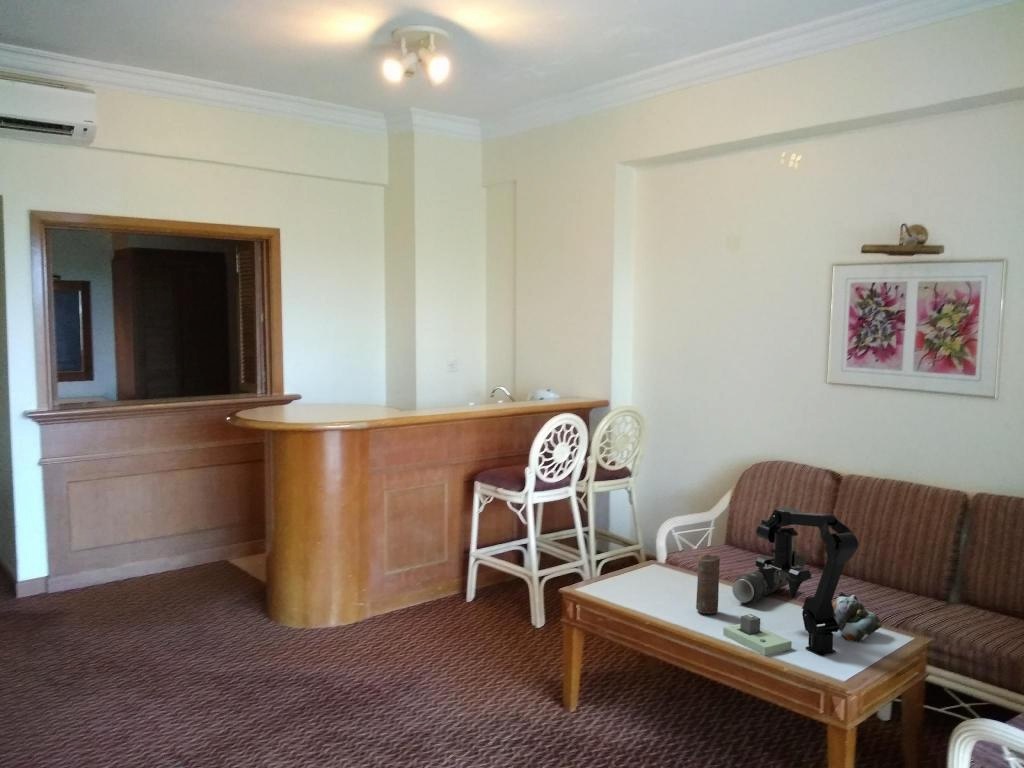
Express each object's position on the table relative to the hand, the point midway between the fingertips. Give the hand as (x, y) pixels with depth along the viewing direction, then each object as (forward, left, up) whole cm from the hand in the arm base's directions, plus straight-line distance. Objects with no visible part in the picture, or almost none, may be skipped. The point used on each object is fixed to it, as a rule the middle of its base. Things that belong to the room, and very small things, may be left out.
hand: (781, 594), depth 260 cm
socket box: (-4, +14, -12) cm, 19 cm away
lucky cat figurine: (-13, -18, -12) cm, 25 cm away
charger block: (-1, +14, -12) cm, 19 cm away
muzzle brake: (+27, -18, -12) cm, 35 cm away
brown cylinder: (+23, +11, -12) cm, 28 cm away
